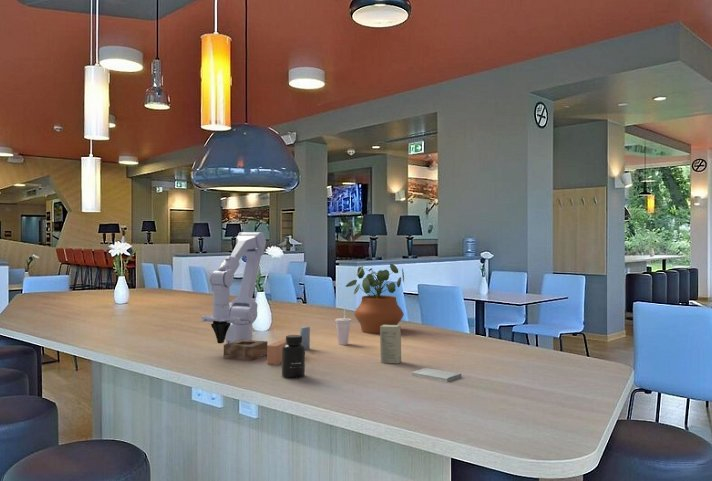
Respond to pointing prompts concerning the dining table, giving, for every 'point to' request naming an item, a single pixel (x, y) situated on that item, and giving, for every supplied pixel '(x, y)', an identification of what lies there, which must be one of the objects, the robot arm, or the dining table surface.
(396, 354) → the skincare box
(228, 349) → the pocket block
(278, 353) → the block
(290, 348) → the supplement bottle
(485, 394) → the dining table surface
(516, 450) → the dining table surface
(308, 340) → the dowel
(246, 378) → the dining table surface
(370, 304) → the potted plant
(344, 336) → the smoothie
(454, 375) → the hard drive
